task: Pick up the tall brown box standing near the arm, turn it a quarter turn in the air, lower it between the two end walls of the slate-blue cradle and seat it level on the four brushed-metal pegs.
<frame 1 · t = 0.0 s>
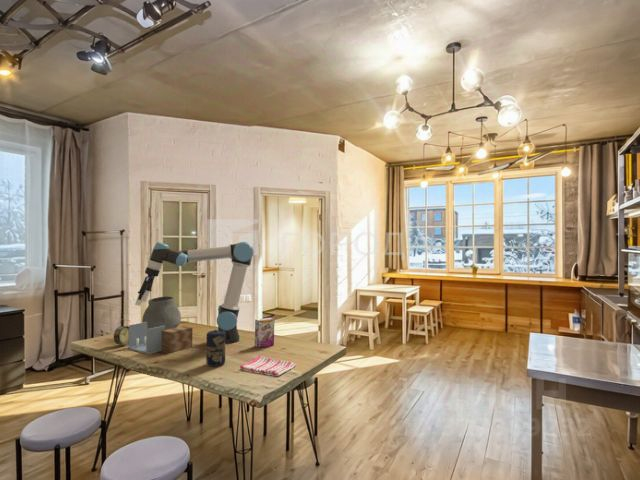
hand: (140, 303, 214), 28 cm above the table, tool tilted 20°, fingers open, 13 cm apart
dish towel: (268, 369, 187), on the table
candy bar box: (264, 346, 226), on the table
brown box: (177, 349, 218), on the table
ceramic pot: (161, 334, 253), on the table
cradle: (146, 349, 218), on the table
alarm clock: (122, 346, 225), on the table
canister: (215, 365, 192), on the table
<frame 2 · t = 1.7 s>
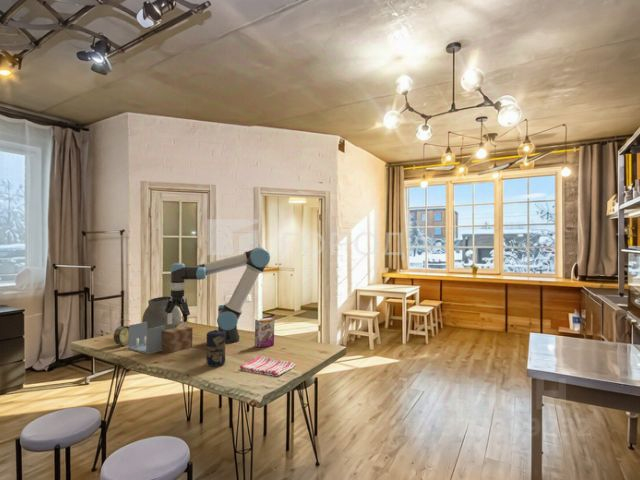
hand: (176, 325, 218), 14 cm above the table, tool pointing down, fingers open, 13 cm apart
nothing on the table moved.
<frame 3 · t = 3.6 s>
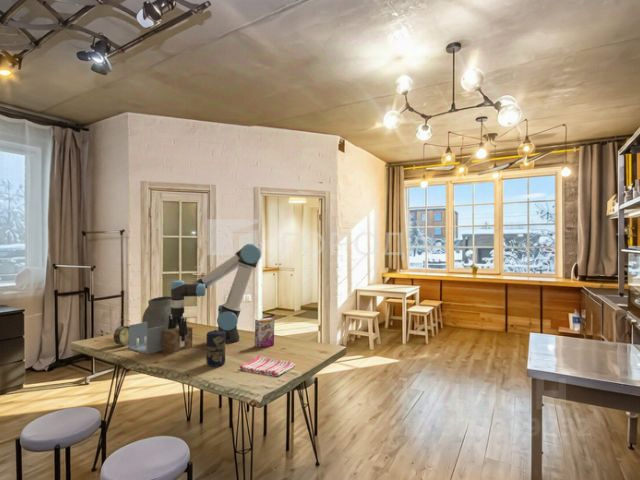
hand: (177, 345, 218), 2 cm above the table, tool pointing down, fingers closed on brown box, 8 cm apart
brown box: (177, 349, 218), on the table, touching gripper
everything else where it was.
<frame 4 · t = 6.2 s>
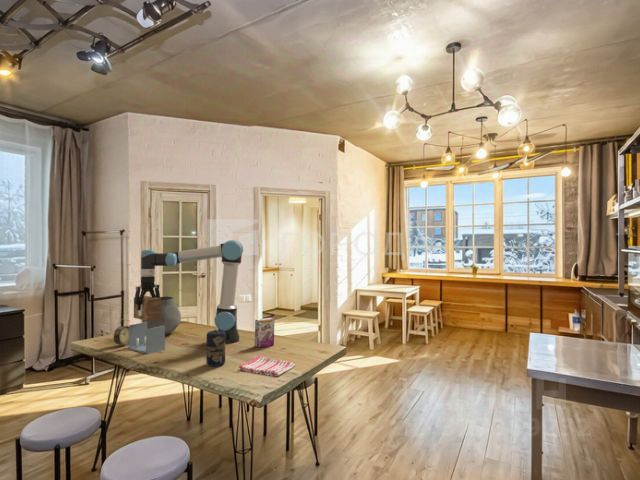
hand: (147, 314, 218), 21 cm above the table, tool pointing down, fingers closed on brown box, 8 cm apart
brown box: (147, 318, 218), point 18 cm above the table, touching gripper
everything else where it was.
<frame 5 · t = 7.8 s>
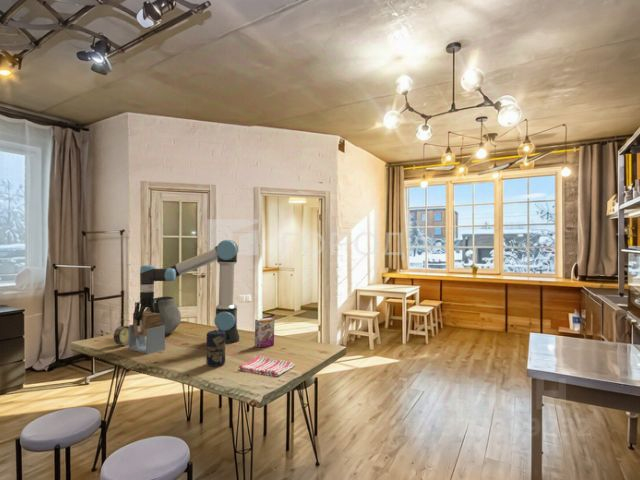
hand: (146, 329, 218), 11 cm above the table, tool pointing down, fingers closed on brown box, 8 cm apart
brown box: (146, 333, 218), point 9 cm above the table, touching gripper
everything else where it was.
when the fingers open (9 cm above the table, at t = 9.1 s): brown box stays where it is, resting on cradle.
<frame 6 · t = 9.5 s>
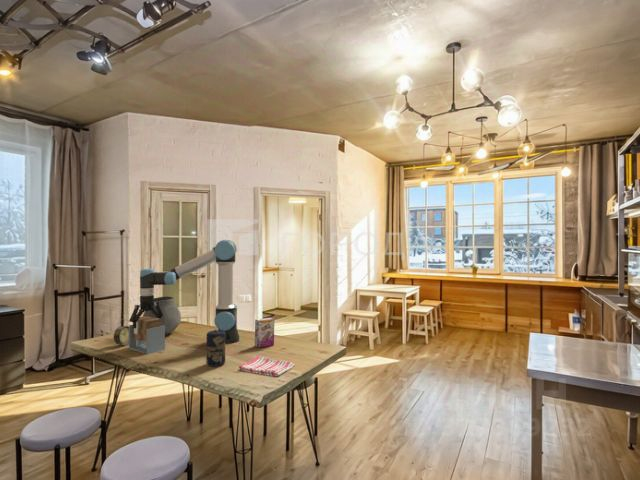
hand: (146, 331, 218), 11 cm above the table, tool pointing down, fingers open, 13 cm apart
brown box: (146, 339, 218), point 6 cm above the table, touching cradle
everything else where it was.
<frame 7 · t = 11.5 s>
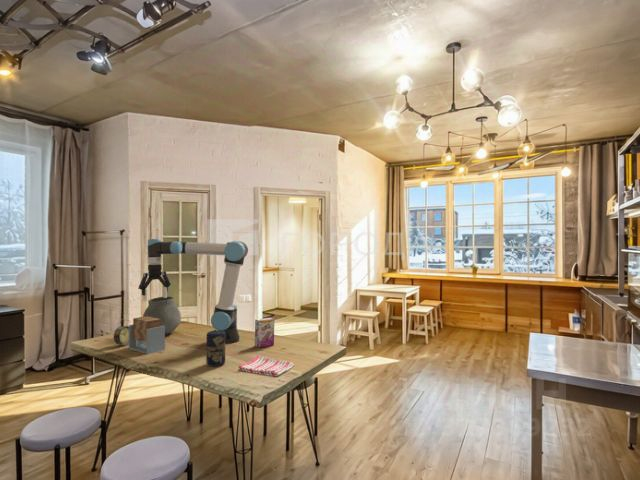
hand: (155, 299, 224), 29 cm above the table, tool pointing down, fingers open, 13 cm apart
nothing on the table moved.
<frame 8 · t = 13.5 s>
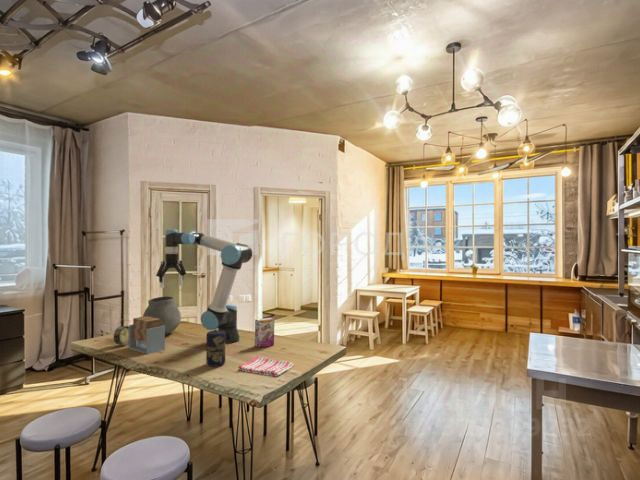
hand: (171, 286, 238), 35 cm above the table, tool pointing down, fingers open, 13 cm apart
nothing on the table moved.
at the end: brown box 0.1 cm off-centre on the cradle, point 6.0 cm above the cradle's base; brown box tilted 0°; the gripper is holding nothing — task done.
